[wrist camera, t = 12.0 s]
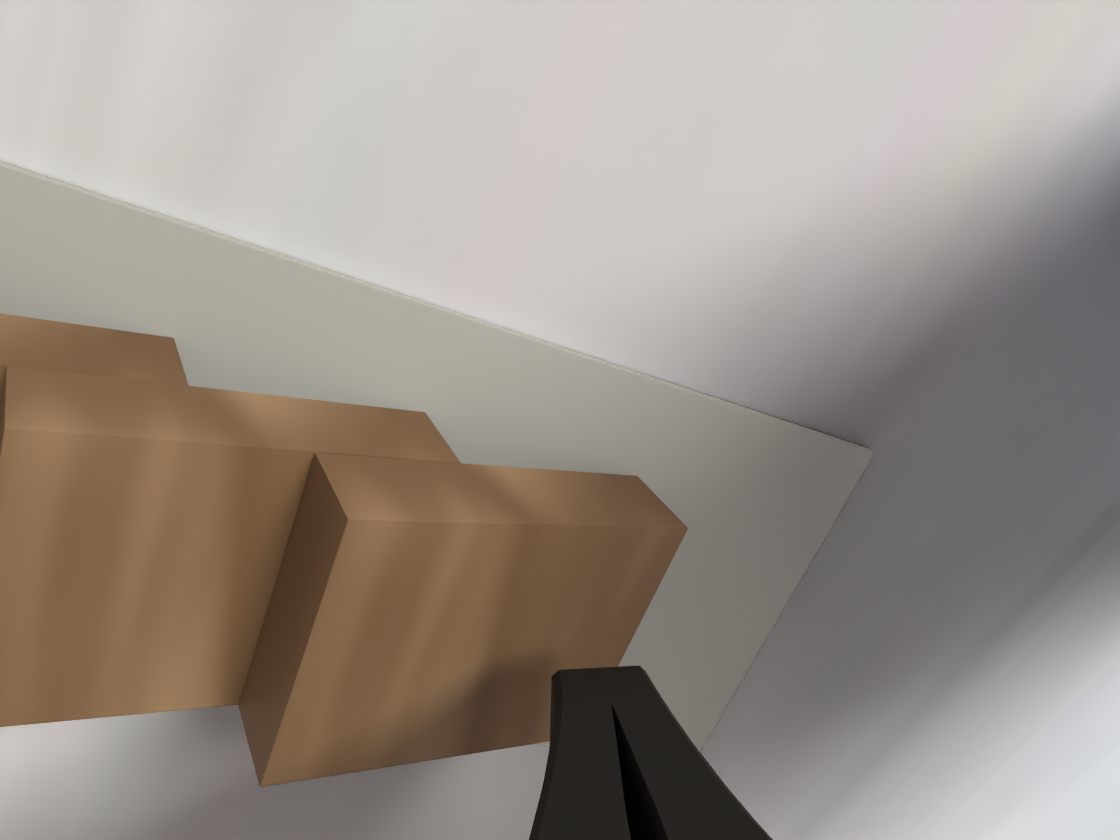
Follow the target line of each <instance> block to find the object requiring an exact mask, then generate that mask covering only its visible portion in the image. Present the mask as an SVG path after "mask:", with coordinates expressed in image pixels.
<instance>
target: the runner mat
mask: <svg viewBox="0 0 1120 840" xmlns="http://www.w3.org/2000/svg"><path fill="white" fill-rule="evenodd" d="M0 313H1V314H8V315H15V316H22V317H29V318H36V319H43V320H50V321H58V322H65V323H72V324H79V325H86V326H93V327H100V328H107V329H115V330H122V331H129V332H136V333H143V334H150V335H157V336H164V337H172V338H174V340H175V343H176V347H177V350H178V353H179V356H180V359H181V363H182V366H183V369H184V372H185V375H186V379H187V382H188V385H189V386H196V387H205V388H214V389H223V390H231V391H240V392H249V393H258V394H267V395H276V396H285V397H294V398H303V399H312V400H321V401H330V402H339V403H347V404H356V405H365V406H374V407H383V408H392V409H401V410H410V411H419V412H425V413H426V414H427V415H428V417H429V418H430V420H431V421H432V423H433V424H434V425H435V427H436V428H437V430H438V431H439V433H440V434H441V435H442V437H443V438H444V440H445V441H446V443H447V444H448V445H449V447H450V448H451V450H452V451H453V453H454V454H455V455H456V457H457V458H458V460H459V461H460V463H464V464H478V465H492V466H506V467H520V468H534V469H548V470H562V471H577V472H591V473H605V474H619V475H633V476H638V477H639V478H640V479H641V480H642V481H643V482H644V483H645V484H646V485H647V486H648V487H649V488H650V489H651V490H652V491H653V492H654V493H655V494H656V495H657V497H658V498H659V499H660V500H661V501H662V502H663V503H664V504H665V505H666V506H667V507H668V508H669V509H670V510H671V511H672V512H673V513H674V514H675V515H676V516H677V517H678V518H679V519H680V520H681V521H682V522H683V523H684V524H685V525H686V526H687V527H688V530H687V532H686V534H685V536H684V538H683V540H682V542H681V544H680V546H679V548H678V550H677V551H676V553H675V555H674V557H673V559H672V561H671V563H670V565H669V567H668V569H667V571H666V573H665V575H664V577H663V579H662V581H661V583H660V585H659V587H658V589H657V591H656V593H655V595H654V597H653V599H652V601H651V603H650V605H649V607H648V609H647V611H646V612H645V614H644V616H643V618H642V620H641V622H640V624H639V626H638V628H637V630H636V632H635V634H634V636H633V638H632V640H631V642H630V644H629V646H628V648H627V650H626V652H625V654H624V656H623V658H622V660H621V662H620V664H619V666H618V667H620V666H638V665H639V666H640V667H642V668H643V669H644V670H645V671H646V672H647V674H648V676H649V678H650V679H651V681H652V683H653V684H654V686H655V687H656V689H657V691H658V692H659V694H660V695H661V697H662V699H663V700H664V702H665V703H666V705H667V706H668V708H669V709H670V711H671V712H672V714H673V715H674V717H675V718H676V719H677V721H678V722H679V724H680V725H681V727H682V728H683V730H684V731H685V732H686V734H687V735H688V737H689V738H690V739H691V741H692V742H693V744H694V745H695V746H696V748H697V749H698V750H699V752H701V750H702V748H703V746H704V745H705V743H706V741H707V740H708V738H709V736H710V734H711V733H712V731H713V729H714V728H715V726H716V724H717V722H718V721H719V719H720V717H721V715H722V714H723V712H724V710H725V709H726V707H727V705H728V703H729V702H730V700H731V698H732V697H733V695H734V693H735V691H736V690H737V688H738V686H739V685H740V683H741V681H742V679H743V678H744V676H745V674H746V673H747V671H748V669H749V667H750V666H751V664H752V662H753V661H754V659H755V657H756V655H757V654H758V652H759V650H760V649H761V647H762V645H763V643H764V642H765V640H766V638H767V637H768V635H769V633H770V631H771V630H772V628H773V626H774V625H775V623H776V621H777V619H778V618H779V616H780V614H781V613H782V611H783V609H784V607H785V606H786V604H787V602H788V600H789V599H790V597H791V595H792V594H793V592H794V590H795V588H796V587H797V585H798V583H799V582H800V580H801V578H802V576H803V575H804V573H805V571H806V570H807V568H808V566H809V564H810V563H811V561H812V559H813V558H814V556H815V554H816V552H817V551H818V549H819V547H820V546H821V544H822V542H823V540H824V539H825V537H826V535H827V534H828V532H829V530H830V528H831V527H832V525H833V523H834V522H835V520H836V518H837V516H838V515H839V513H840V511H841V510H842V508H843V506H844V504H845V503H846V501H847V499H848V498H849V496H850V494H851V492H852V491H853V489H854V487H855V486H856V484H857V482H858V480H859V479H860V477H861V475H862V473H863V472H864V470H865V468H866V467H867V465H868V463H869V461H870V460H871V458H872V456H873V455H874V453H873V452H872V451H871V450H870V449H869V448H866V447H863V446H860V445H857V444H854V443H851V442H848V441H845V440H842V439H839V438H836V437H833V436H830V435H827V434H824V433H821V432H818V431H815V430H812V429H809V428H806V427H803V426H800V425H797V424H793V423H790V422H787V421H784V420H781V419H778V418H775V417H772V416H769V415H766V414H763V413H760V412H757V411H754V410H751V409H748V408H745V407H742V406H739V405H736V404H733V403H730V402H727V401H724V400H721V399H718V398H715V397H712V396H709V395H706V394H703V393H700V392H697V391H694V390H691V389H688V388H685V387H682V386H679V385H675V384H672V383H669V382H666V381H663V380H660V379H657V378H654V377H651V376H648V375H645V374H642V373H639V372H636V371H633V370H630V369H627V368H624V367H621V366H618V365H615V364H612V363H609V362H606V361H603V360H600V359H597V358H594V357H591V356H588V355H585V354H582V353H579V352H576V351H573V350H570V349H567V348H564V347H561V346H557V345H554V344H551V343H548V342H545V341H542V340H539V339H536V338H533V337H530V336H527V335H524V334H521V333H518V332H515V331H512V330H509V329H506V328H503V327H500V326H497V325H494V324H491V323H488V322H485V321H482V320H479V319H476V318H473V317H470V316H467V315H464V314H461V313H458V312H455V311H452V310H449V309H446V308H443V307H439V306H436V305H433V304H430V303H427V302H424V301H421V300H418V299H415V298H412V297H409V296H406V295H403V294H400V293H397V292H394V291H391V290H388V289H385V288H382V287H379V286H376V285H373V284H370V283H367V282H364V281H361V280H358V279H355V278H352V277H349V276H346V275H343V274H340V273H337V272H334V271H331V270H328V269H325V268H321V267H318V266H315V265H312V264H309V263H306V262H303V261H300V260H297V259H294V258H291V257H288V256H285V255H282V254H279V253H276V252H273V251H270V250H267V249H264V248H261V247H258V246H255V245H252V244H249V243H246V242H243V241H240V240H237V239H234V238H231V237H228V236H225V235H222V234H219V233H216V232H213V231H210V230H207V229H203V228H200V227H197V226H194V225H191V224H188V223H185V222H182V221H179V220H176V219H173V218H170V217H167V216H164V215H161V214H158V213H155V212H152V211H149V210H146V209H143V208H140V207H137V206H134V205H131V204H128V203H125V202H122V201H119V200H116V199H113V198H110V197H107V196H104V195H101V194H98V193H95V192H92V191H89V190H85V189H82V188H79V187H76V186H73V185H70V184H67V183H64V182H61V181H58V180H55V179H52V178H49V177H46V176H43V175H40V174H37V173H34V172H31V171H28V170H25V169H22V168H19V167H16V166H13V165H10V164H7V163H4V162H1V161H0ZM535 744H539V745H544V746H549V747H550V741H548V742H542V743H535Z"/></svg>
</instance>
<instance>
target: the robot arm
mask: <svg viewBox="0 0 1120 840" xmlns="http://www.w3.org/2000/svg"><path fill="white" fill-rule="evenodd" d="M529 840H772V838H771V837H770V836H769V835H768V834H767V833H766V832H765V831H764V830H763V829H762V827H761V826H760V825H759V824H758V823H757V822H756V821H755V820H754V818H753V817H752V816H751V815H750V814H749V813H748V811H747V810H746V809H745V808H744V807H743V806H742V804H741V803H740V802H739V801H738V800H737V799H736V797H735V796H734V795H733V794H732V792H731V791H730V790H729V789H728V788H727V786H726V785H725V784H724V783H723V781H722V780H721V779H720V778H719V776H718V775H717V774H716V772H715V771H714V770H713V769H712V767H711V766H710V765H709V763H708V762H707V761H706V759H705V758H704V757H703V755H702V754H701V753H700V752H699V750H698V749H697V748H696V746H695V745H694V744H693V742H692V741H691V739H690V738H689V737H688V735H687V734H686V732H685V731H684V730H683V728H682V727H681V725H680V724H679V722H678V721H677V719H676V718H675V717H674V715H673V714H672V712H671V711H670V709H669V708H668V706H667V705H666V703H665V702H664V700H663V699H662V697H661V695H660V694H659V692H658V691H657V689H656V687H655V686H654V684H653V683H652V681H651V679H650V678H649V676H648V674H647V672H646V671H645V670H644V669H643V668H642V667H640V666H639V665H638V666H620V667H602V668H584V669H565V670H558V671H557V672H556V673H555V674H554V675H552V676H551V714H550V750H549V755H548V761H547V766H546V772H545V777H544V782H543V787H542V791H541V795H540V799H539V803H538V807H537V811H536V815H535V819H534V823H533V826H532V830H531V834H530V838H529Z"/></svg>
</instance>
